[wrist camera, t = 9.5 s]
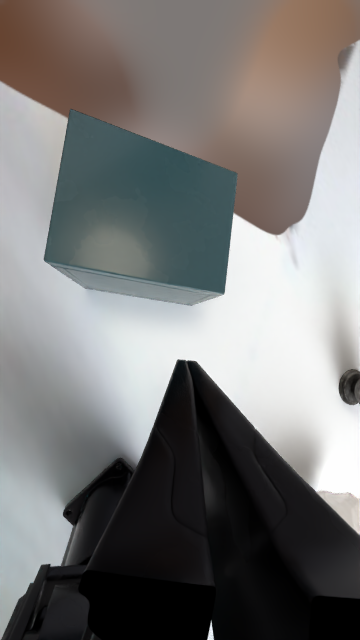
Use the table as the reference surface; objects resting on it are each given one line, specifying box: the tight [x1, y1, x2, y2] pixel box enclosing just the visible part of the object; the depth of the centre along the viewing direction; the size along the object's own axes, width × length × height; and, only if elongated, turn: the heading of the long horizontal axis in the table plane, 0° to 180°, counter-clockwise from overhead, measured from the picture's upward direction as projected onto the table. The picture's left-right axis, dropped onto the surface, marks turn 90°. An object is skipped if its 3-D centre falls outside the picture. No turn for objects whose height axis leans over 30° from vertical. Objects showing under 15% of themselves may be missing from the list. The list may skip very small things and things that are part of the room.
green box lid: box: [44, 109, 237, 296], centre depth 12 cm, size 9×11×1 cm
